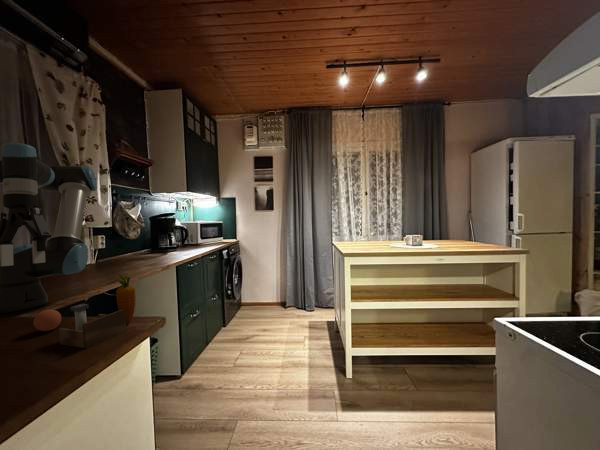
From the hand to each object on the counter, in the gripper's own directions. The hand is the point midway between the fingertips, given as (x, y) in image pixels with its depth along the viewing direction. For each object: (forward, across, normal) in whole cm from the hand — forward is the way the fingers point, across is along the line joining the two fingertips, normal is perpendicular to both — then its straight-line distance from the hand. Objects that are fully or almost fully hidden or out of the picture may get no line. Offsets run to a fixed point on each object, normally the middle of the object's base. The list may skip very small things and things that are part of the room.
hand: (22, 264), depth 83 cm
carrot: (+21, +29, +8) cm, 37 cm away
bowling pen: (+21, +28, -1) cm, 35 cm away
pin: (+21, +23, 0) cm, 31 cm away
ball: (+17, +9, 0) cm, 19 cm away
